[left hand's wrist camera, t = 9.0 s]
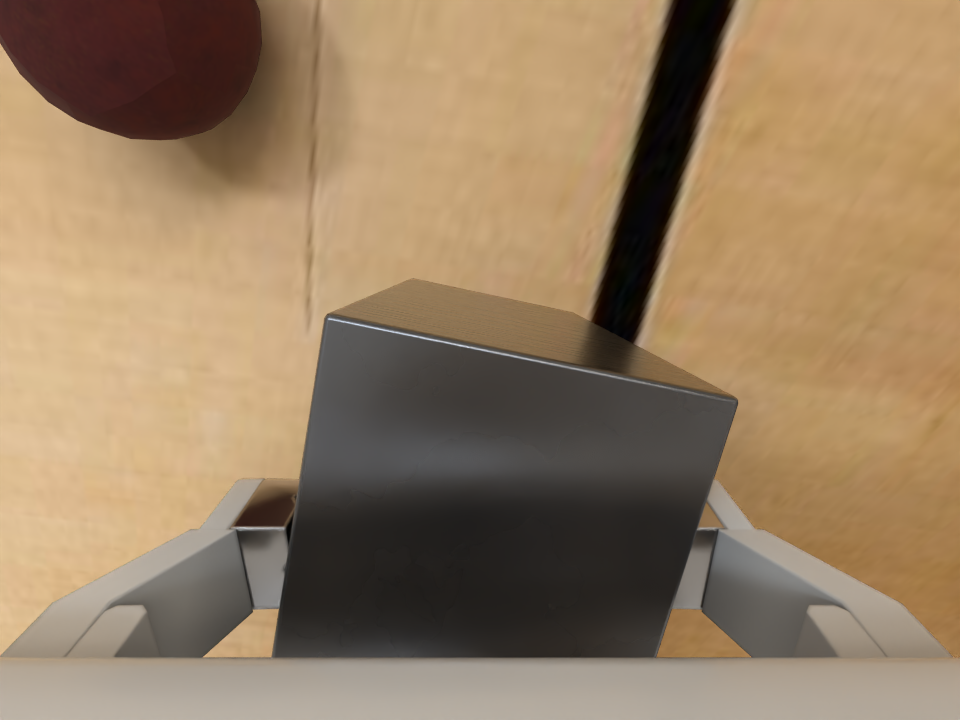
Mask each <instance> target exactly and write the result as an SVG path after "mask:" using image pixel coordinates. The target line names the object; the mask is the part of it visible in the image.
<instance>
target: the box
mask: <svg viewBox="0 0 960 720" xmlns="http://www.w3.org/2000/svg"><path fill="white" fill-rule="evenodd" d="M737 406H738V400H737V398H735V397H734V396H732V395H730V394H728V393H726V392H724V391H723V390H721V389H719V388H717V387H715V386H713V385H711V384H709V383H707V382H705V381H703V380H701V379H699V378H698V377H696V376H694V375H692V374H690V373H688V372H686V371H684V370H682V369H680V368H678V367H676V366H675V365H673V364H671V363H669V362H667V361H665V360H663V359H661V358H659V357H657V356H655V355H653V354H651V353H650V352H648V351H646V350H644V349H642V348H640V347H638V346H636V345H634V344H632V343H630V342H628V341H627V340H625V339H623V338H621V337H619V336H617V335H615V334H613V333H611V332H609V331H607V330H605V329H603V328H602V327H600V326H598V325H596V324H594V323H592V322H590V321H588V320H586V319H584V318H582V317H580V316H579V315H577V314H575V313H573V312H568V311H563V310H559V309H554V308H549V307H545V306H540V305H535V304H531V303H526V302H521V301H517V300H512V299H507V298H503V297H498V296H493V295H489V294H484V293H479V292H475V291H470V290H465V289H461V288H456V287H451V286H447V285H442V284H437V283H433V282H428V281H423V280H419V279H414V278H413V279H410V280H407V281H405V282H402V283H400V284H398V285H395V286H393V287H390V288H388V289H386V290H383V291H381V292H378V293H376V294H374V295H371V296H369V297H367V298H364V299H362V300H359V301H357V302H355V303H352V304H350V305H347V306H345V307H343V308H340V309H338V310H336V311H333V312H331V313H328V314H327V315H326V316H325V318H324V324H323V330H322V337H321V343H320V350H319V356H318V362H317V369H316V375H315V382H314V388H313V394H312V401H311V407H310V414H309V420H308V426H307V433H306V439H305V446H304V452H303V458H302V465H301V471H300V478H299V484H298V490H297V497H296V503H295V510H294V516H293V522H292V529H291V535H290V542H289V548H288V554H287V561H286V567H285V574H284V580H283V586H282V593H281V599H280V606H279V612H278V618H277V625H276V631H275V638H274V644H273V650H272V657H464V658H656V656H657V653H658V650H659V647H660V644H661V641H662V638H663V635H664V631H665V628H666V625H667V622H668V619H669V616H670V613H671V610H672V607H673V604H674V601H675V597H676V594H677V591H678V588H679V585H680V582H681V579H682V576H683V573H684V570H685V566H686V563H687V560H688V557H689V554H690V551H691V548H692V545H693V542H694V539H695V536H696V532H697V529H698V526H699V523H700V520H701V517H702V514H703V511H704V508H705V505H706V501H707V498H708V495H709V492H710V489H711V486H712V483H713V480H714V477H715V474H716V471H717V467H718V464H719V461H720V458H721V455H722V452H723V449H724V446H725V443H726V440H727V436H728V433H729V430H730V427H731V424H732V421H733V418H734V415H735V412H736V409H737Z"/></svg>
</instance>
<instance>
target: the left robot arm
mask: <svg viewBox="0 0 960 720" xmlns="http://www.w3.org/2000/svg"><path fill="white" fill-rule="evenodd" d="M298 484H299V479H264V478H243V479H240V480H237V481H236V482H235V484H234V485H233V486H232V488H231V489H230V490H229V491H228V493H227V494H226V495H225V496H224V498H223V499H222V500H221V502H220V503H219V504H218V505H217V507H216V508H215V509H214V511H213V512H212V513H211V514H210V516H209V517H208V518H207V520H206V521H205V522H204V523H203V525H202V526H201V527H200V529H191V530H189V531H187V532H185V533H183V534H181V535H179V536H178V537H176V538H174V539H172V540H170V541H168V542H166V543H164V544H162V545H161V546H159V547H157V548H155V549H153V550H151V551H149V552H147V553H145V554H144V555H142V556H140V557H138V558H136V559H134V560H132V561H130V562H128V563H127V564H125V565H123V566H121V567H119V568H117V569H115V570H113V571H111V572H110V573H108V574H106V575H104V576H102V577H100V578H98V579H96V580H94V581H93V582H91V583H89V584H87V585H85V586H83V587H81V588H79V589H77V590H76V591H74V592H72V593H70V594H68V595H66V596H64V597H62V598H60V599H59V600H57V601H55V602H53V603H52V604H51V605H50V606H49V607H48V608H47V609H46V610H45V611H44V612H43V613H42V614H41V615H40V616H39V617H38V618H37V619H36V620H35V621H34V622H33V623H32V624H31V625H30V626H29V627H28V628H27V629H26V630H25V631H24V632H23V633H22V634H21V635H20V636H19V637H18V638H17V639H16V640H15V641H14V642H13V643H12V644H11V645H10V646H9V648H8V649H7V650H6V651H5V652H4V653H3V654H2V655H1V656H0V720H960V657H953V656H952V655H951V654H950V653H949V652H948V651H947V650H946V649H945V648H944V647H943V646H942V645H941V644H940V643H939V642H938V641H937V640H936V639H935V638H934V637H933V635H932V634H931V633H930V632H929V631H928V630H927V629H926V628H925V627H924V626H923V625H922V624H921V623H920V622H919V621H918V620H917V619H916V618H915V617H914V616H913V615H912V614H911V613H910V611H909V610H908V609H907V608H906V607H905V606H904V605H903V604H902V603H900V602H898V601H896V600H894V599H892V598H891V597H889V596H887V595H885V594H883V593H881V592H879V591H877V590H876V589H874V588H872V587H870V586H868V585H866V584H864V583H863V582H861V581H859V580H857V579H855V578H853V577H851V576H850V575H848V574H846V573H844V572H842V571H840V570H838V569H836V568H835V567H833V566H831V565H829V564H827V563H825V562H823V561H822V560H820V559H818V558H816V557H814V556H812V555H810V554H808V553H807V552H805V551H803V550H801V549H799V548H797V547H795V546H794V545H792V544H790V543H788V542H786V541H784V540H782V539H781V538H779V537H777V536H775V535H773V534H771V533H769V532H767V531H766V530H764V529H755V528H754V527H753V525H752V524H751V523H750V521H749V520H748V519H747V518H746V516H745V515H744V514H743V512H742V511H741V510H740V508H739V507H738V506H737V505H736V503H735V502H734V501H733V499H732V498H731V497H730V495H729V494H728V493H727V492H726V490H725V489H724V488H723V486H722V485H721V484H720V482H719V481H718V480H716V479H714V480H713V483H712V486H711V489H710V492H709V495H708V498H707V501H706V505H705V508H704V511H703V514H702V517H701V520H700V523H699V526H698V529H697V532H696V536H695V539H694V542H693V545H692V548H691V551H690V554H689V557H688V560H687V563H686V566H685V570H684V573H683V576H682V579H681V582H680V585H679V588H678V591H677V594H676V597H675V601H674V604H673V607H672V609H702V612H703V613H704V614H705V615H706V616H707V617H708V618H709V619H710V620H712V621H713V622H714V623H715V624H716V625H717V626H718V627H719V628H720V629H722V630H723V631H724V632H725V633H726V634H727V635H728V636H729V637H730V638H731V639H733V640H734V641H735V642H736V643H737V644H738V645H739V646H740V647H741V648H742V649H744V650H745V651H746V652H747V653H748V654H749V655H750V656H751V657H752V658H464V657H256V658H202V657H203V656H204V655H205V654H207V653H208V652H209V651H210V650H211V649H212V648H213V647H214V646H215V645H217V644H218V643H219V642H220V641H221V640H222V639H223V638H224V637H226V636H227V635H228V634H229V633H230V632H231V631H232V630H233V629H234V628H236V627H237V626H238V625H239V624H240V623H241V622H242V621H243V620H245V619H246V618H247V617H248V616H249V615H250V614H251V613H252V612H253V609H279V606H280V599H281V593H282V586H283V580H284V574H285V567H286V561H287V554H288V548H289V542H290V535H291V529H292V522H293V516H294V510H295V503H296V497H297V490H298Z"/></svg>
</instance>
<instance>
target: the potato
mask: <svg viewBox="0 0 960 720" xmlns="http://www.w3.org/2000/svg"><path fill="white" fill-rule="evenodd" d="M0 44H1V45H2V47H3V48H4V50H5V51H6V53H7V54H8V56H9V58H10V59H11V61H12V62H13V64H14V65H15V67H16V68H17V70H18V71H19V73H20V74H21V75H22V76H23V77H24V78H25V79H26V80H27V81H28V82H29V83H30V84H31V85H32V86H33V87H34V88H35V89H36V90H37V91H38V92H39V93H40V94H41V95H42V96H43V97H44V98H45V99H46V100H47V101H48V102H49V103H51V104H52V105H54V106H55V107H57V108H59V109H60V110H62V111H63V112H65V113H66V114H68V115H70V116H71V117H73V118H74V119H76V120H77V121H80V122H82V123H85V124H88V125H90V126H93V127H95V128H98V129H101V130H104V131H107V132H110V133H114V134H117V135H120V136H123V137H126V138H130V139H146V140H172V139H179V138H183V137H187V136H191V135H195V134H199V133H203V132H205V131H208V130H211V129H212V128H214V127H215V126H216V125H218V124H219V123H220V122H222V121H223V120H224V119H226V118H227V117H228V116H230V115H231V114H232V112H233V111H234V110H235V108H236V107H237V105H238V104H239V103H240V101H241V100H242V99H243V97H244V96H245V94H246V93H247V91H248V89H249V86H250V84H251V82H252V79H253V77H254V74H255V72H256V69H257V64H258V59H259V54H260V50H261V45H262V37H261V22H260V11H259V8H258V6H257V3H256V0H0Z"/></svg>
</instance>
